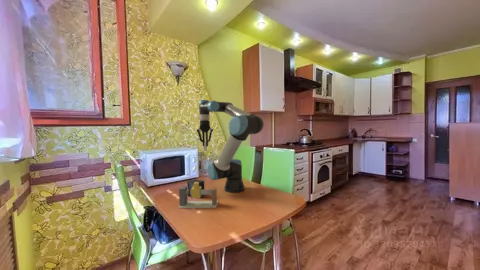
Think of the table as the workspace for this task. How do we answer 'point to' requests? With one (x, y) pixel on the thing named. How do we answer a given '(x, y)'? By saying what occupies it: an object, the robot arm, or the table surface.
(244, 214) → the table surface
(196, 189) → the sleeve
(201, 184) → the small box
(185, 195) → the rail
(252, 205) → the table surface
